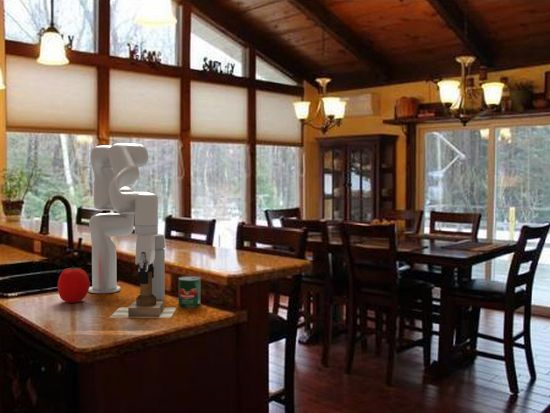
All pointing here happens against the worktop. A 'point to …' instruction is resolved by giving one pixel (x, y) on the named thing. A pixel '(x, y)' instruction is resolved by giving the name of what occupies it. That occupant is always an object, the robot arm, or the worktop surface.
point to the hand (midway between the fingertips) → (146, 280)
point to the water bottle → (159, 268)
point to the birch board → (123, 313)
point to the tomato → (73, 285)
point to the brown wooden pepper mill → (146, 292)
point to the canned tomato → (189, 291)
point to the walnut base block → (146, 310)
